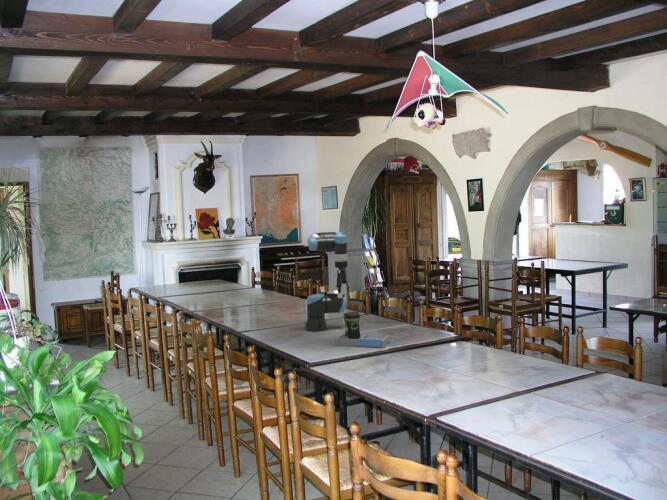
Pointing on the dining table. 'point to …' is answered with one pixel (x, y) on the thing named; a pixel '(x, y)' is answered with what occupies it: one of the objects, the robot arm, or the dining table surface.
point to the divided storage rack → (361, 341)
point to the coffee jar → (352, 325)
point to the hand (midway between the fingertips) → (342, 296)
